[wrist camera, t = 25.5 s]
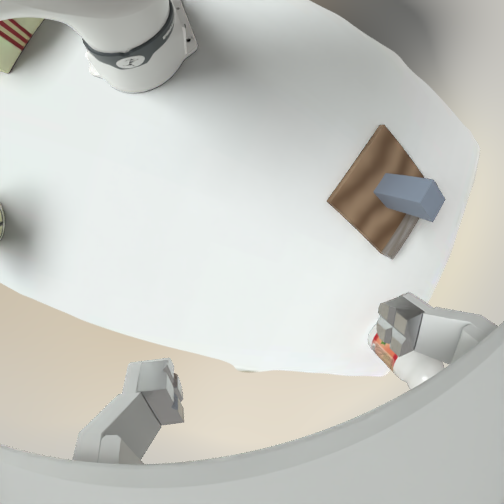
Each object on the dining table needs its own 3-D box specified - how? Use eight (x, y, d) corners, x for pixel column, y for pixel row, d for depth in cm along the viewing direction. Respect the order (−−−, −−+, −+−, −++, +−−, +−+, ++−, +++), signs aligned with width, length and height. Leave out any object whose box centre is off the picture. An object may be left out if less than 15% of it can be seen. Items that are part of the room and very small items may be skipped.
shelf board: (326, 201, 48) (338, 204, 44) (379, 125, 46) (393, 123, 41) (380, 253, 54) (393, 260, 50) (424, 184, 52) (438, 186, 48)
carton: (373, 192, 48) (420, 203, 36) (385, 172, 47) (433, 179, 35) (387, 208, 50) (433, 223, 38) (399, 190, 49) (445, 200, 37)
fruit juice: (361, 349, 62) (425, 422, 36) (374, 317, 60) (450, 387, 34) (386, 346, 65) (449, 410, 39) (399, 316, 62) (472, 376, 36)
